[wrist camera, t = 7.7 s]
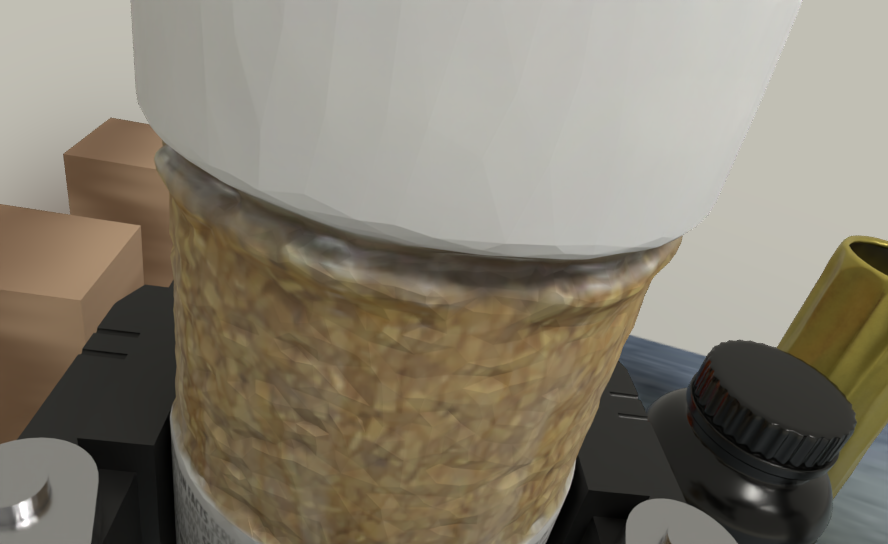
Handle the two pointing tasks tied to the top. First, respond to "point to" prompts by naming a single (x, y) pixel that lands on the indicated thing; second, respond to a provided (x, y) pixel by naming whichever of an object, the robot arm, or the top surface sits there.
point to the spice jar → (422, 243)
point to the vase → (849, 340)
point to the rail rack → (78, 262)
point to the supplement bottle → (756, 442)
